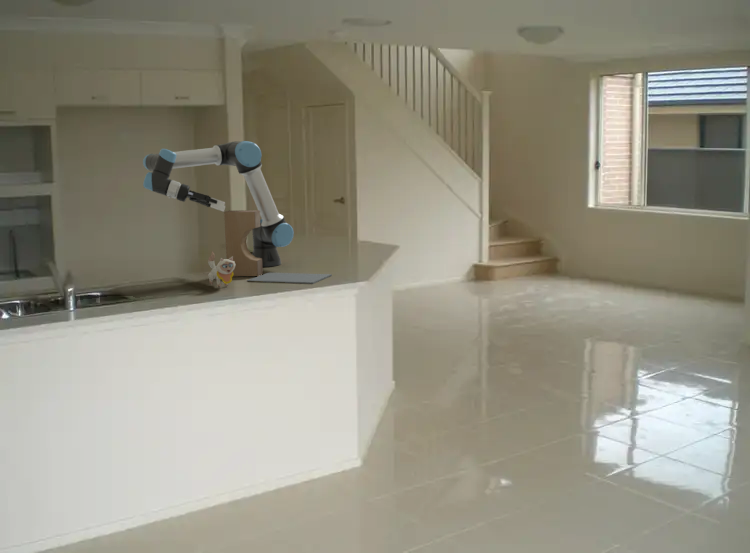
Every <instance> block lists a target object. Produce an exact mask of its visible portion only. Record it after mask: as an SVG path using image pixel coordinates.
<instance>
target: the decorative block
mask: <svg viewBox="0 0 750 553" xmlns="http://www.w3.org/2000/svg"><path fill="white" fill-rule="evenodd" d="M223 216H224V218H223V219H224V220H223V221H224V233H225V236H224V237H225V255H226V259H229V258H231V257H232V256H233V261H235V268H234V270H233V274H234V275H233V277H238V276H259V275H261V274H264V268H263V266H262V258H257V257H255V256H254V255H252V254H253V253H252V252H250V250H249V249H248V244H247V239H248V236H249V234H250V232H251V231H252V229H254V228H257V227H261V225H260V219H261V215H260V210H258V209H257V210H256V209H255V210H254V209H253V210H252V209H251V210H250V209H249V210H242V209H241V210H226V211H224V212H223Z"/></svg>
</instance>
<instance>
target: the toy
mask: <svg viewBox="0 0 750 553" xmlns="http://www.w3.org/2000/svg"><path fill="white" fill-rule="evenodd" d="M215 258H216V256H215V253H214V251H211V255H210V256H209V257H208V260H207V263H208V266H209V267H210V268H211V270H210V271H209V273H208V274H207V276H208V279H209V280H208V281H209V285H210V286H212V285H213V284H214V282H213V281H214V280H216V287H217V288H221V287H222V286H221V284H222V283H221V281H222V282H223V283H224V287H225V286H227V287H228V286H229V284H231V283H232V281H233V278H234V276H233V275H234V274H233V270H234V268H235V261H233V256H232V257H231V258H229V259H227V258H224V259H223V258H222V257H220V260H219V262H218V263H217V265H216V264H215Z"/></svg>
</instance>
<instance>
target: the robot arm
mask: <svg viewBox="0 0 750 553" xmlns="http://www.w3.org/2000/svg"><path fill="white" fill-rule="evenodd" d="M261 160H262V150H261V148H260V146H258V144H257V143H255V142H252V141H248V140H241V141H239V140H238V141H230V142H226V143H223V144H222V143H221V144H215V145H213V147H209V148H208V147H207V148H199V149H197V148H196V149H188V150H180V151H172V150H170V149H167V148H161V149H160V150H159V153H150V154H146V155H145V156H144V158H143V159H142V165H143V167H144V168H145V169H146V170H147V171H148V172H147V173H146V174H145V177H144V179H143V182H142V184H143V188H144V189H146V190H149V191H151V192H153V193H157V194H160V195H163V196H165V197H167V198H168V199H171V198H172V199H176V200H177V201H180V202H183V203H184V202H186V200H187V199H188V200H189V201H191V202H195V203H198V204H200V205H202V206H205V207H207V208H211V209H215V210H216V211H217V210H218V211H221V212H223V213H224V212H225V209H226V207H227V206H226V202H225V201H223V200H220V199H217V198H214V197H211V196H210V195H208V194H203V193H199V192H196V191H194V190H191V189H190V188H191V186H190V185H187V184H185V183H181V182H179V181H177V180H174V179H170V176H171V174H172V173H171V172H172V171H173V170H174V169H181V168H188V167H189V168H190V167H198V166H207V165H208V166H209V165H215V166H232V167H233V166H234V167H236V169H237V172H238V173H239V175H241V176H243V178H244V180H245V182H246V185H247V187H248V189H249V192H250V194H251V197H252V199H253V201H254V203H255V206H256V209H257V210H260V225H261V227H257V228H254V229H252V230H251V231H252V244H253V245H252V248H253V251H252V253H251V254H252V255H254V256H255V257H257V258H262V266H263V267H264V268H266V267H268V268H269V267H276V266H280V265H282V260H281V256H280V254H279V251H278V248H283V247H286V246H289V245H290V244H291V243H292V241H293V240H294V234H295V233H294V228H293V227H292V225H290V223H287V221H286V219H285V216H284V215H283V214H280V213H279V211H278V207H277V206H276V203H275V201H274V199H273V196H272V194H271V193H272V192H271V191H270V188H269V186H268V183H267V182H266V179H265V176H264V174H263V172H262V166H263V163H262V161H261Z"/></svg>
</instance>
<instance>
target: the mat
mask: <svg viewBox="0 0 750 553" xmlns="http://www.w3.org/2000/svg"><path fill="white" fill-rule="evenodd" d="M332 276H333V275H332V274H331V273H297V272H296V273H295V272H293V273H292V272H291V273H290V272H267V273H263V275H260V276H258V277H251V278H249V279H247V280H246V282H247V281H263V282H262V283H272V282H285V283H284V284H304V285H305V284H308V285H309V284H310V285H313V284H316V283H318V282H320V281H323V280H325V279H328V278H330V277H332Z"/></svg>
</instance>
